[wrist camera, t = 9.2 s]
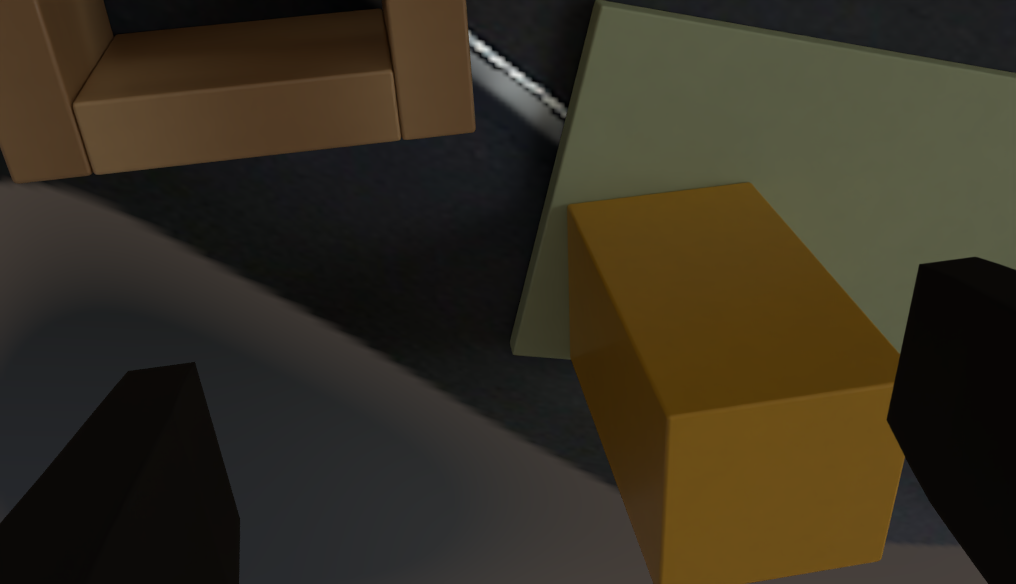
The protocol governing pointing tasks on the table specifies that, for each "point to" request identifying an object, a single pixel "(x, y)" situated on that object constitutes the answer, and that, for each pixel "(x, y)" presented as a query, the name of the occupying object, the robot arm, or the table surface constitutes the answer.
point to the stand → (223, 86)
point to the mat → (783, 152)
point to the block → (730, 387)
